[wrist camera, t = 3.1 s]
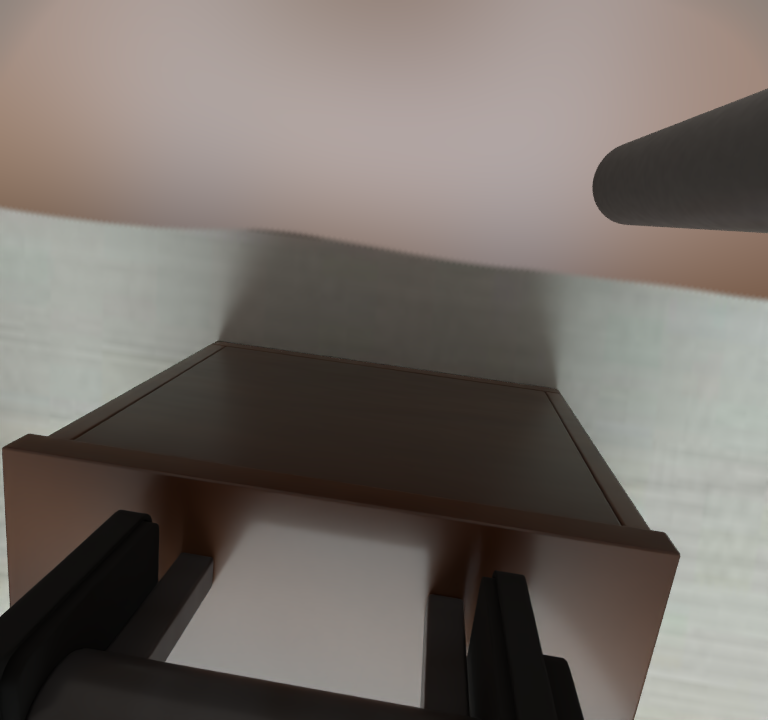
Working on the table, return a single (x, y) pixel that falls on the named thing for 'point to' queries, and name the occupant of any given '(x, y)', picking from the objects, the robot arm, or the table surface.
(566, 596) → the lid
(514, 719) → the robot arm
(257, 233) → the table surface
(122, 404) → the chest
